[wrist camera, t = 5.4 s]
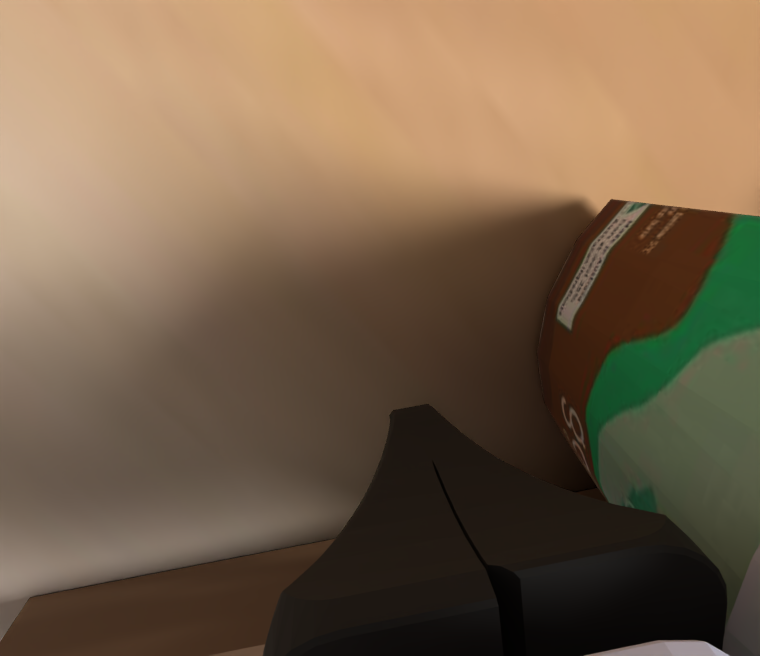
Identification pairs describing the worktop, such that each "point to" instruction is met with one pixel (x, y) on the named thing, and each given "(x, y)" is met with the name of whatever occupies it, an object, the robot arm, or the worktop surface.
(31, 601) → the rail
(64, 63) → the worktop surface
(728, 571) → the food container
